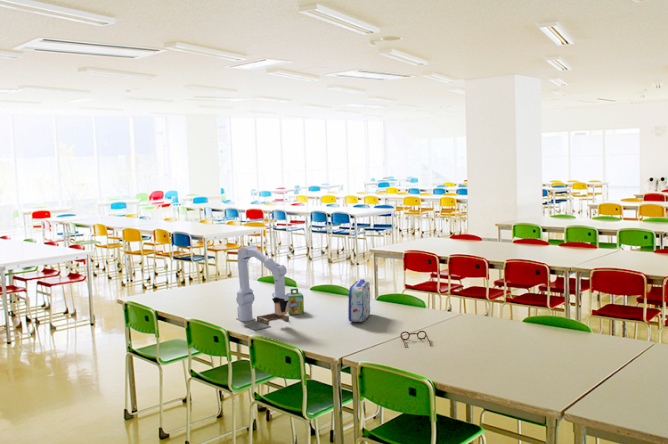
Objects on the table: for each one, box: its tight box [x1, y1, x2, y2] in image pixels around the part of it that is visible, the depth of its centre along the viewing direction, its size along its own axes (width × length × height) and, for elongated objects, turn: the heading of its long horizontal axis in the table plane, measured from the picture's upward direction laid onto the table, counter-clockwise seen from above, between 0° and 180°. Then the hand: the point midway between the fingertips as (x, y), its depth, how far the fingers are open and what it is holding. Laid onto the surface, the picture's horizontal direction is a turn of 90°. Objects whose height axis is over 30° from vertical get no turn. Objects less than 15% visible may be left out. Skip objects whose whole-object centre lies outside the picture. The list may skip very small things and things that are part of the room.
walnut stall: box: [256, 312, 290, 326], centre depth 334 cm, size 12×14×3 cm
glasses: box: [399, 330, 432, 349], centre depth 285 cm, size 13×13×5 cm
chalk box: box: [285, 287, 305, 316], centre depth 352 cm, size 9×9×15 cm
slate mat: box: [244, 321, 272, 331], centre depth 324 cm, size 12×10×1 cm
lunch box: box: [347, 279, 371, 323], centre depth 333 cm, size 28×10×22 cm, turn 168°
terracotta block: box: [273, 302, 288, 315], centre depth 324 cm, size 5×5×6 cm
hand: (280, 311), depth 324 cm, fingers closed on terracotta block, 5 cm apart
